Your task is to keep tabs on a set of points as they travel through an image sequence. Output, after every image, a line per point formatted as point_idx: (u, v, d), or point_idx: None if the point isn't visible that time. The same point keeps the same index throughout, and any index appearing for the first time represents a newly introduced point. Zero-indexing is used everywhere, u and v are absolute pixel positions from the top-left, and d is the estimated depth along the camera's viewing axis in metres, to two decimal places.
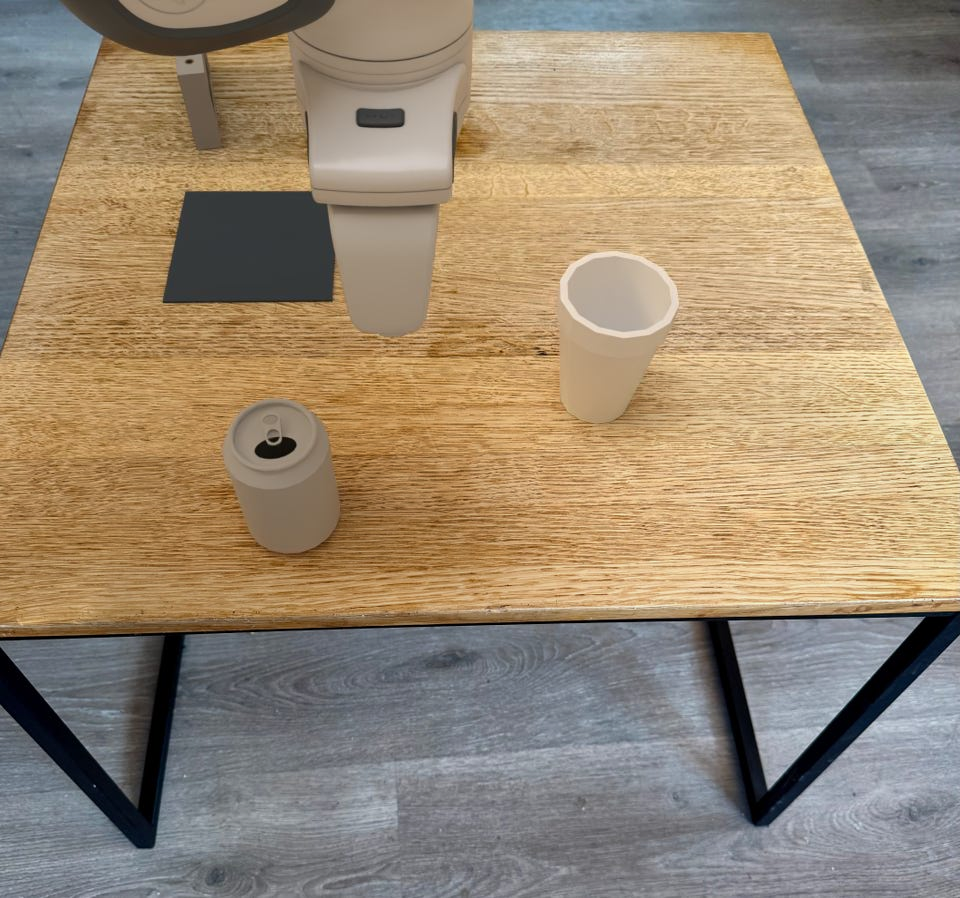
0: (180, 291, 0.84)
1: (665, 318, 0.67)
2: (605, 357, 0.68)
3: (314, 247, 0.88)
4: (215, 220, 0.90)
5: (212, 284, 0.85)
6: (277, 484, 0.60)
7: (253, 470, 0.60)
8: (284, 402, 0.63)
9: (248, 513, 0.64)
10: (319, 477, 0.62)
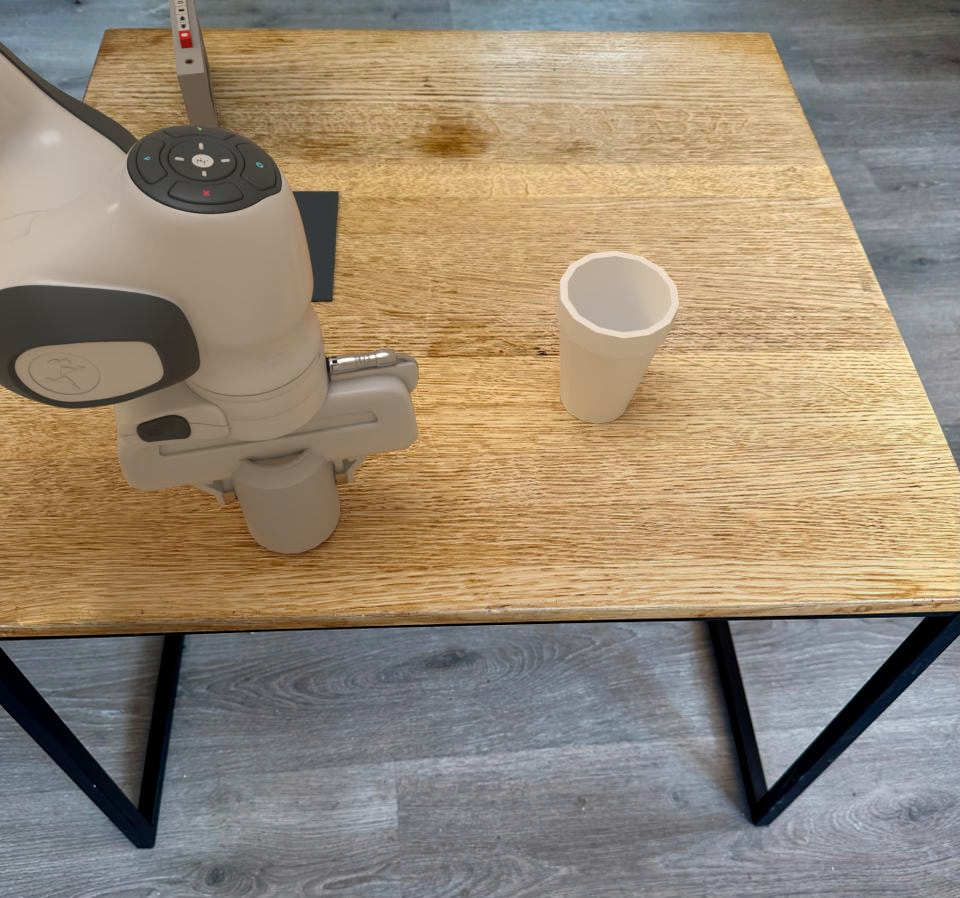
0: None
1: (665, 318, 0.67)
2: (605, 357, 0.68)
3: (314, 247, 0.88)
4: None
5: None
6: (277, 484, 0.60)
7: (253, 470, 0.60)
8: None
9: (248, 513, 0.64)
10: (319, 477, 0.62)
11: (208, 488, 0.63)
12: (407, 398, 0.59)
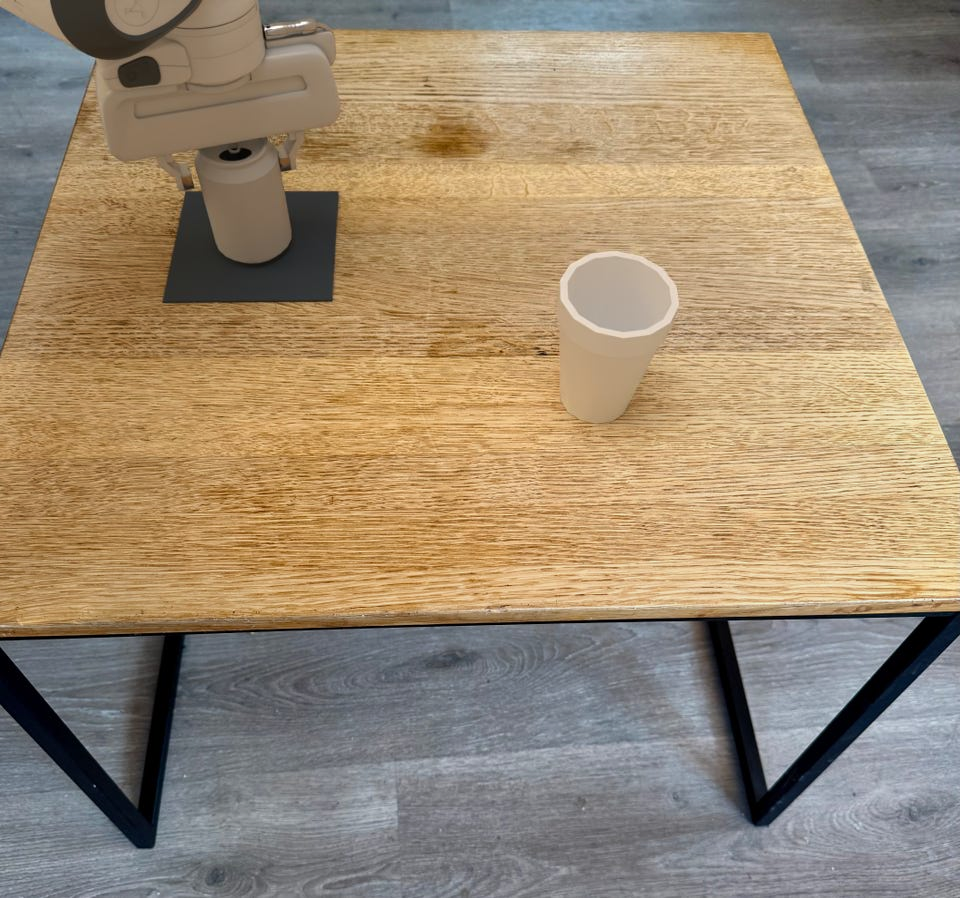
0: (180, 291, 0.84)
1: (665, 318, 0.67)
2: (605, 357, 0.68)
3: (314, 247, 0.88)
4: None
5: (212, 284, 0.85)
6: (236, 180, 0.78)
7: (217, 168, 0.77)
8: None
9: (216, 218, 0.82)
10: (270, 182, 0.80)
11: (169, 167, 0.77)
12: (328, 64, 0.74)
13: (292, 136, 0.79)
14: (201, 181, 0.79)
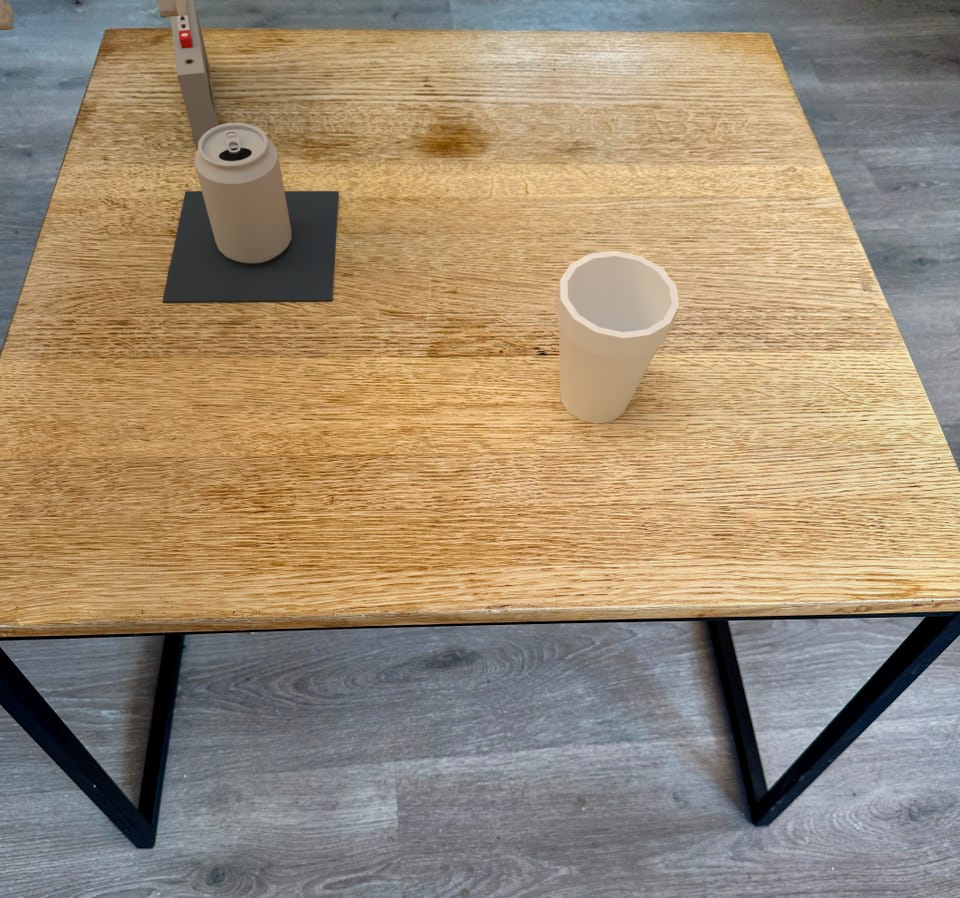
0: (180, 291, 0.84)
1: (665, 318, 0.67)
2: (605, 357, 0.68)
3: (314, 247, 0.88)
4: None
5: (212, 284, 0.85)
6: (236, 180, 0.78)
7: (217, 168, 0.77)
8: (242, 125, 0.80)
9: (216, 218, 0.82)
10: (270, 182, 0.80)
11: None
12: None
13: None
14: (201, 181, 0.79)
